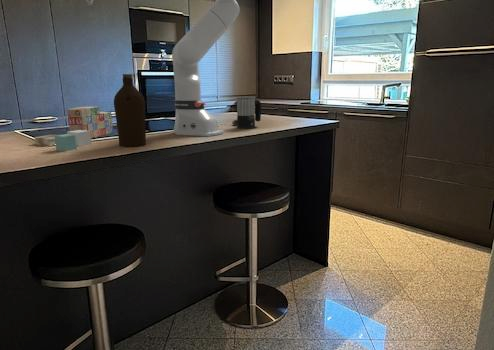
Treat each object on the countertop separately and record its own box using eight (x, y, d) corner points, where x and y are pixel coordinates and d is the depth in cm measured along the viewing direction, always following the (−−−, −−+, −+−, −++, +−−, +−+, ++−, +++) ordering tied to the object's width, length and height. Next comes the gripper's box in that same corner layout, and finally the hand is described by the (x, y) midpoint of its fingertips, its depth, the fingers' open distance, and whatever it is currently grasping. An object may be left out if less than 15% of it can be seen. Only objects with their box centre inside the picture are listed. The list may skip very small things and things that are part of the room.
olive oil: (153, 144, 134) (148, 74, 127) (125, 148, 127) (119, 74, 120) (139, 141, 141) (134, 74, 135) (112, 144, 134) (105, 74, 128)
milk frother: (248, 129, 174) (248, 97, 170) (221, 127, 182) (221, 96, 178) (263, 126, 185) (263, 96, 181) (237, 124, 193) (237, 95, 189)
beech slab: (69, 143, 139) (68, 135, 138) (50, 147, 132) (49, 138, 131) (54, 142, 142) (53, 134, 141) (35, 145, 135) (34, 137, 134)
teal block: (76, 149, 126) (75, 134, 125) (65, 151, 122) (63, 136, 121) (67, 148, 128) (65, 134, 127) (56, 150, 124) (54, 135, 123)
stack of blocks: (101, 132, 165) (98, 104, 162) (113, 132, 164) (111, 104, 161) (70, 139, 145) (66, 108, 142) (84, 140, 144) (80, 108, 141)
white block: (91, 144, 136) (90, 130, 135) (79, 146, 131) (77, 132, 130) (80, 143, 138) (79, 129, 137) (68, 145, 134) (66, 131, 132)
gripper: (101, -39, 131) (91, 0, 133) (107, -25, 150) (99, 9, 152) (82, -47, 129) (73, -7, 131) (91, -31, 148) (83, 3, 150)
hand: (87, 2), depth 142 cm, fingers open, 8 cm apart
